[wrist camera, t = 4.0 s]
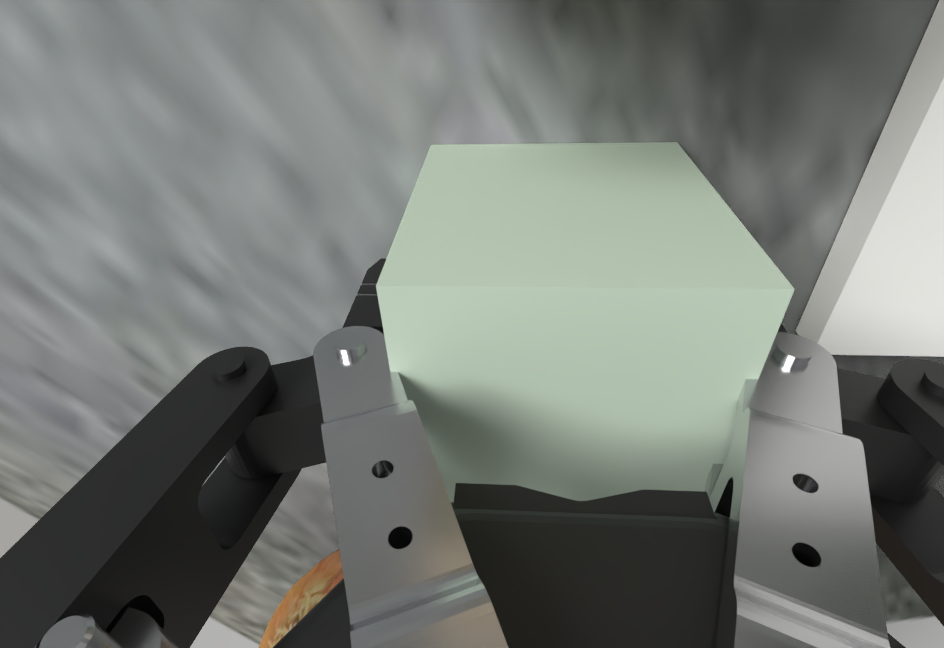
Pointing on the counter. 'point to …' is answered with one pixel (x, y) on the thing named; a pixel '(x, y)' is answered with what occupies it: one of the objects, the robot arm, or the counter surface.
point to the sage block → (575, 316)
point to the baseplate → (892, 231)
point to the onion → (303, 598)
